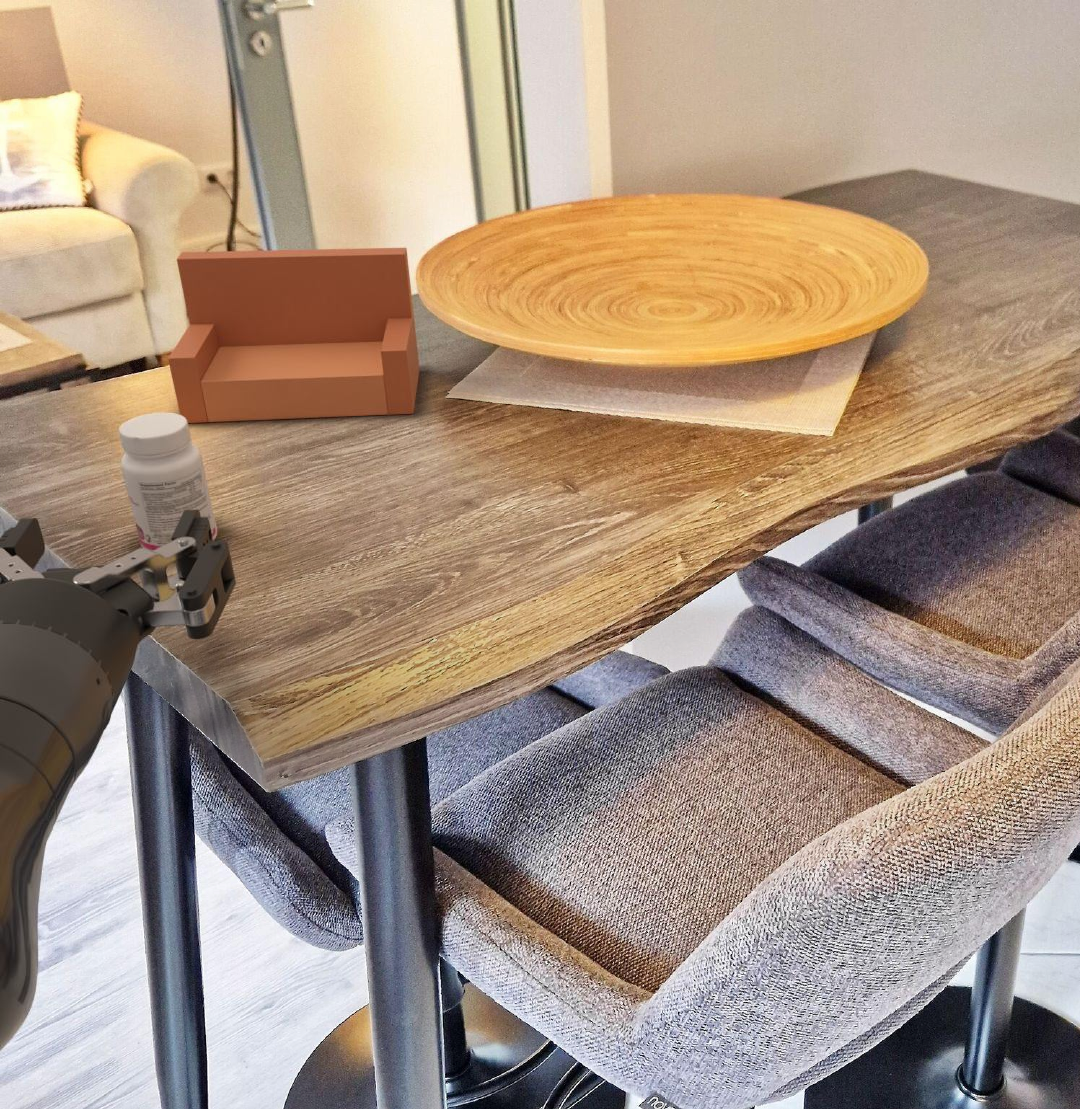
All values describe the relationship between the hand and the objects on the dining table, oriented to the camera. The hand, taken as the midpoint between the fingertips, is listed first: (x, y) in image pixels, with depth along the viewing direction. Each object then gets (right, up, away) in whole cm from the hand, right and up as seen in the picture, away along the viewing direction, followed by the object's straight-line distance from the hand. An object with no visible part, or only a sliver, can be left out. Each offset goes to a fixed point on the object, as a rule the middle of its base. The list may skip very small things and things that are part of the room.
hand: (115, 528), depth 69 cm
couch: (-1, +12, +34) cm, 37 cm away
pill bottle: (-2, -1, +12) cm, 13 cm away
